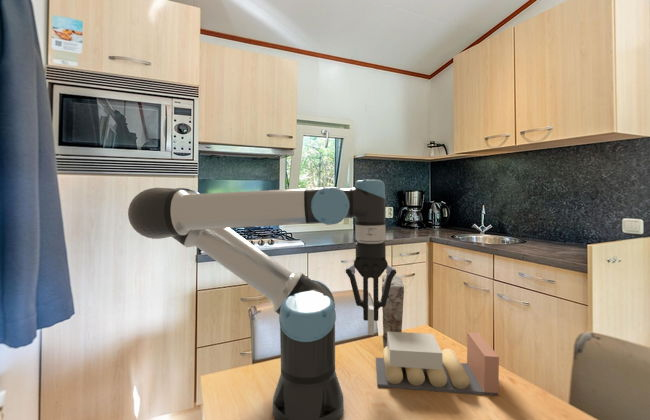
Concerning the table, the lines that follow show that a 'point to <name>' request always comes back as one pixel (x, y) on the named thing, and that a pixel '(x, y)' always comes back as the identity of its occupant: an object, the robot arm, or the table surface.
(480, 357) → the stop block
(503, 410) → the table surface
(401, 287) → the stone block
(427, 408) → the table surface
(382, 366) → the roller bed
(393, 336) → the slab
